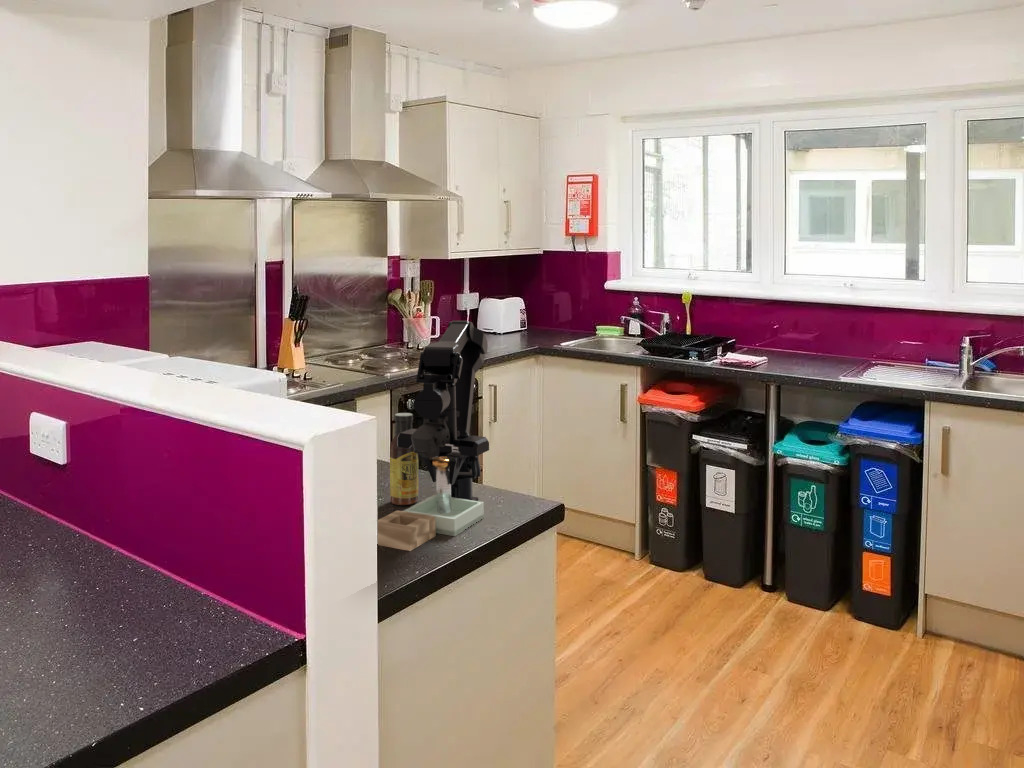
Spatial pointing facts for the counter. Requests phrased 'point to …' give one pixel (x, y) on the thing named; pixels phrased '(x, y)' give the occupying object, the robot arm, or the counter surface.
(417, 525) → the block
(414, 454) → the sauce bottle
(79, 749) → the counter surface
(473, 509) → the sage tray
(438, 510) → the orange-capped jar
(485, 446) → the robot arm
